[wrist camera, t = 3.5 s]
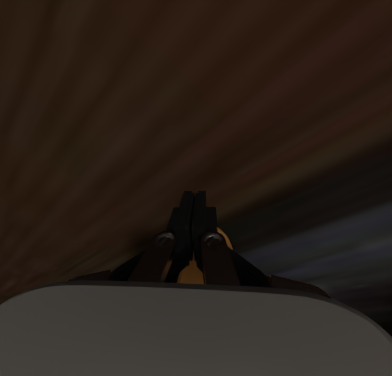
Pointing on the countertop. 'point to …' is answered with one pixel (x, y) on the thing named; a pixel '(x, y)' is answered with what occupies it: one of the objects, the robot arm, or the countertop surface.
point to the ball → (192, 272)
